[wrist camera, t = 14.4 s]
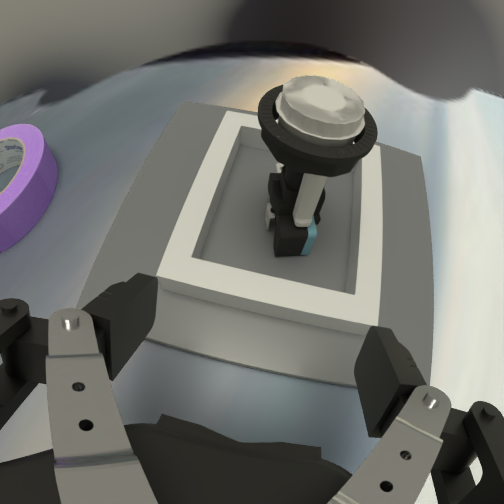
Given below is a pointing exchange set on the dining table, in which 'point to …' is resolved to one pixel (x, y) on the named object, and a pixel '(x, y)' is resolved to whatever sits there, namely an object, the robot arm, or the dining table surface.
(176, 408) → the dining table surface
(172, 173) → the plate
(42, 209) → the masking tape
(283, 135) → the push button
